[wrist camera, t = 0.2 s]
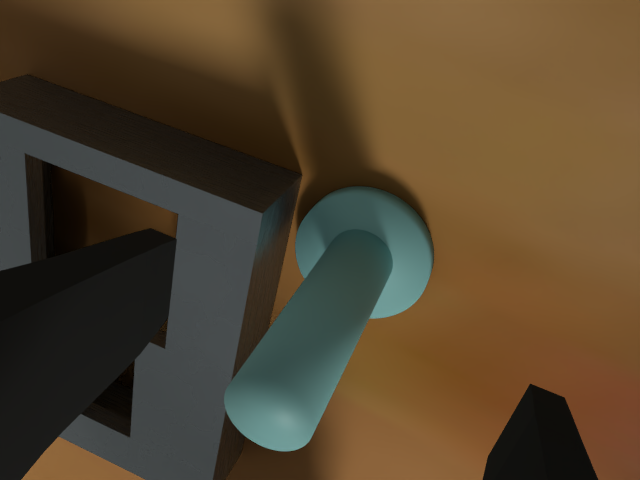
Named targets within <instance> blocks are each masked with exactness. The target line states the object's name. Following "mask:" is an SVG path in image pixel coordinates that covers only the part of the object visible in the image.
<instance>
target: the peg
mask: <svg viewBox="0 0 640 480" xmlns="http://www.w3.org/2000/svg"><path fill="white" fill-rule="evenodd" d="M295 251H296V259H297V262H298V266H299V268H300V271H301V273H302V275H303V277H304V279H305V280H304V281H303V282H302V284H301V285H300V287H299V288H298V289H297V291H296V292H295V293H294V295H293V296H292V298H291V299H290V300H289V302H288V303H287V305H286V306H285V307H284V309H283V310H282V312H281V313H280V314H279V316H278V317H277V319H276V320H275V321H274V323H273V324H272V326H271V327H270V328H269V330H268V331H267V332H266V334H265V335H264V337H263V338H262V339H261V341H260V342H259V344H258V345H257V346H256V348H255V349H254V351H253V352H252V353H251V355H250V356H249V358H248V359H247V360H246V362H245V363H244V364H243V366H242V367H241V369H240V370H239V371H238V373H237V374H236V376H235V377H234V378H233V380H232V381H231V383H230V384H229V385H228V387H227V389H226V391H225V395H224V404H225V409H226V411H227V414H228V416H229V418H230V420H231V421H232V423H233V424H234V425H235V427H236V428H237V429H238V430H239V431H240V432H241V433H242V434H243V435H244V436H246V437H247V438H248V439H250V440H251V441H253V442H255V443H256V444H258V445H260V446H263V447H265V448H268V449H271V450H276V451H294V450H297V449H300V448H302V447H303V446H305V445H306V444H307V443H308V442H309V441H310V439H311V437H312V435H313V433H314V431H315V429H316V427H317V425H318V423H319V421H320V419H321V417H322V415H323V413H324V411H325V409H326V407H327V404H328V402H329V400H330V398H331V396H332V394H333V392H334V390H335V388H336V386H337V384H338V382H339V380H340V378H341V376H342V373H343V371H344V369H345V367H346V365H347V363H348V361H349V359H350V357H351V355H352V353H353V351H354V349H355V347H356V345H357V343H358V340H359V338H360V336H361V334H362V332H363V330H364V328H365V326H366V324H367V322H368V320H369V318H384V317H389V316H393V315H395V314H398V313H401V312H402V311H404V310H406V309H408V308H409V307H410V306H412V305H413V304H414V303H415V302H416V301H417V300H418V299H419V297H420V296H421V295H422V293H423V291H424V289H425V287H426V285H427V283H428V280H429V277H430V274H431V271H432V268H433V263H434V248H433V242H432V239H431V235H430V233H429V231H428V228H427V226H426V225H425V223H424V222H423V220H422V218H421V217H420V216H419V215H418V213H417V212H416V211H415V210H414V209H413V208H412V207H411V206H410V205H408V204H407V203H406V202H404V201H403V200H402V199H400V198H398V197H397V196H395V195H393V194H391V193H389V192H386V191H384V190H380V189H377V188H372V187H366V186H353V187H346V188H342V189H339V190H336V191H333V192H331V193H329V194H328V195H326V196H324V197H323V198H322V199H321V200H319V201H318V202H317V203H316V205H315V206H314V207H313V208H312V209H311V210H310V211H309V212H308V214H307V215H306V216H305V218H304V219H303V220H302V222H301V224H300V226H299V229H298V232H297V235H296V242H295Z"/></svg>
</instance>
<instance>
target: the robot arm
mask: <svg viewBox="0 0 640 480" xmlns="http://www.w3.org/2000/svg"><path fill="white" fill-rule="evenodd" d="M176 244H177V239H176V238H173V237H171V236H168V235H166V234H163V233H161V232H158V231H156V230H154V229H151V228H150V229H146V230H142V231H138V232H135V233H131V234H128V235H124V236H121V237H118V238H114V239H111V240H108V241H105V242H101V243H98V244H95V245H92V246H88V247H85V248H82V249H78V250H75V251H72V252H68V253H65V254H62V255H58V256H55V257H51V258H48V259H44V260H40V261H36V262H32V263H29V264H25V265H21V266H17V267H13V268H9V269H5V270H1V271H0V480H21V479H22V478H23V477H24V475H25V474H26V473H27V472H28V471H29V469H30V468H31V467H32V466H33V465H34V463H35V462H36V461H37V460H38V459H39V457H40V456H41V455H42V454H43V452H44V451H45V450H46V449H47V448H48V447H49V446H50V445H51V444H52V443H53V442H54V441H55V439H56V438H57V437H58V436H59V435H60V434H61V433H62V432H63V431H64V430H65V429H66V428H67V427H68V426H69V425H70V424H71V423H72V422H73V421H74V420H75V419H76V418H77V417H78V416H79V415H80V414H81V413H82V412H83V411H84V410H85V409H86V408H87V407H88V406H89V405H90V404H91V403H92V402H93V401H94V400H95V399H96V398H97V397H98V396H99V395H100V394H101V393H102V392H103V391H104V390H105V389H106V388H107V387H108V386H109V385H110V384H111V383H112V382H113V381H114V380H115V379H116V378H117V377H118V376H119V375H120V374H121V373H122V372H123V371H124V370H125V369H126V368H127V367H128V366H129V365H130V364H131V363H132V362H133V361H134V360H135V359H136V358H137V357H138V356H139V355H140V354H141V352H142V351H143V350H144V349H145V347H146V346H147V345H148V344H149V342H150V341H151V340H152V339H153V337H154V336H155V335H156V333H157V332H158V330H159V329H160V328H161V326H162V325H163V324H164V322H165V321H166V320H167V318H168V317H169V309H170V299H171V290H172V281H173V272H174V262H175V253H176ZM483 480H598V478H597V476H596V473H595V471H594V469H593V466H592V464H591V461H590V459H589V457H588V454H587V452H586V449H585V447H584V444H583V442H582V439H581V437H580V434H579V432H578V429H577V427H576V424H575V422H574V419H573V417H572V414H571V412H570V409H569V407H568V405H567V402H566V400H565V398H564V397H562V396H559V395H557V394H554V393H552V392H549V391H547V390H545V389H542V388H540V387H537V386H535V385H532V384H530V385H529V387H528V389H527V390H526V392H525V394H524V395H523V397H522V399H521V401H520V402H519V404H518V406H517V408H516V409H515V411H514V413H513V414H512V416H511V418H510V420H509V421H508V423H507V425H506V426H505V428H504V430H503V432H502V433H501V435H500V437H499V439H498V440H497V442H496V444H495V445H494V447H493V449H492V451H491V452H490V454H489V456H488V459H487V463H486V467H485V472H484V476H483Z"/></svg>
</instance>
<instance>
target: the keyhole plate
mask: <svg viewBox="0 0 640 480" xmlns="http://www.w3.org/2000/svg"><path fill="white" fill-rule="evenodd" d="M51 164H53V165H56V166H58V167H61V168H63V169H66V170H68V171H71V172H73V173H76V174H79V175H81V176H84V177H86V178H89V179H91V180H94V181H96V182H99V183H101V184H104V185H106V186H109V187H111V188H114V189H116V190H119V191H121V192H124V193H126V194H129V195H132V196H134V197H137V198H139V199H142V200H144V201H147V202H149V203H152V204H154V205H157V206H159V207H162V208H164V209H167V210H169V211H172V212H174V213H177V214H178V223H177V233H176V239H177V244H176V253H175V262H174V272H173V281H172V290H171V299H170V309H169V317H168V325H167V333H166V332H164V331H161V330H158V332H157V333H156V335H155V336H154V337H153V339H152V340H151V341H150V342H149V344H148V345H147V346H146V347H145V349H144V350H143V351H142V352H141V354H140V355H139V356H138V357H137V358H136V359H135V367H134V384H133V390H132V389H130V388H128V387H125V386H123V385H121V384H119V383H117V382H115V381H113V382H112V383H111V384H110V385H109V386H108V387H107V388H106V389H105V390H104V391H103V392H102V393H101V394H100V395H99V396H98V397H97V398H96V399H95V400H94V401H93V402H92V403H91V404H90V405H89V406H88V407H87V408H86V409H85V410H84V411H83V412H82V413H81V414H80V415H79V416H78V417H77V418H76V419H75V420H74V421H73V422H72V423H71V424H70V425H69V426H68V427H67V428H66V429H65V430H64V431H63V432H62V433H61V434H60V435H59V437H61V438H63V439H65V440H67V441H69V442H71V443H73V444H75V445H77V446H79V447H81V448H83V449H85V450H87V451H89V452H91V453H93V454H95V455H97V456H99V457H101V458H103V459H105V460H107V461H109V462H111V463H113V464H115V465H117V466H119V467H121V468H123V469H125V470H127V471H129V472H132V473H134V474H136V475H138V476H140V477H142V478H144V479H146V480H225V479H226V478H227V476H228V474H229V473H230V471H231V469H232V468H233V466H234V464H235V463H236V461H237V459H238V458H239V456H240V454H241V450H242V446H243V441H244V437H245V436H244V435H243V434H242V433H241V432H240V431H239V430H238V429H237V428H236V427H235V425H234V424H233V423H232V421H231V420H230V418H229V416H228V414H227V411H226V409H225V404H224V395H225V391H226V389H227V387H228V385H229V384H230V383H231V381H232V380H233V378H234V377H235V376H236V374H237V373H238V371H239V370H240V369H241V367H242V366H243V364H244V363H245V362H246V360H247V359H248V358H249V356H250V355H251V353H252V352H253V351H254V349H255V348H256V346H257V345H258V344H259V342H260V341H261V339H262V338H263V337H264V335H265V334H266V332H267V331H268V328H269V323H270V319H271V314H272V310H273V305H274V301H275V296H276V292H277V287H278V283H279V278H280V274H281V269H282V265H283V260H284V256H285V251H286V246H287V242H288V237H289V233H290V228H291V224H292V219H293V215H294V210H295V206H296V201H297V197H298V192H299V188H300V183H301V179H302V175H301V174H298V173H296V172H293V171H290V170H287V169H285V168H282V167H279V166H276V165H274V164H271V163H268V162H266V161H263V160H260V159H257V158H255V157H252V156H249V155H246V154H244V153H241V152H238V151H235V150H233V149H230V148H227V147H225V146H222V145H219V144H216V143H214V142H211V141H208V140H205V139H203V138H200V137H197V136H194V135H192V134H189V133H186V132H183V131H181V130H178V129H175V128H173V127H170V126H167V125H164V124H162V123H159V122H156V121H153V120H151V119H148V118H145V117H142V116H140V115H137V114H134V113H132V112H129V111H126V110H123V109H121V108H118V107H115V106H112V105H110V104H107V103H104V102H101V101H99V100H96V99H93V98H91V97H88V96H85V95H82V94H80V93H77V92H74V91H71V90H69V89H66V88H63V87H60V86H58V85H55V84H52V83H49V82H47V81H44V80H41V79H39V78H36V77H33V76H30V75H28V74H27V75H23V76H20V77H16V78H13V79H9V80H6V81H2V82H0V271H1V270H5V269H9V268H13V267H17V266H21V265H25V264H29V263H32V262H36V261H40V260H44V259H48V258H51V257H54V231H53V203H52V176H51Z"/></svg>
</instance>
